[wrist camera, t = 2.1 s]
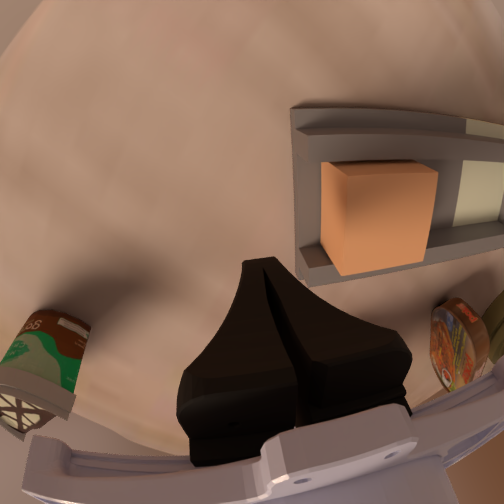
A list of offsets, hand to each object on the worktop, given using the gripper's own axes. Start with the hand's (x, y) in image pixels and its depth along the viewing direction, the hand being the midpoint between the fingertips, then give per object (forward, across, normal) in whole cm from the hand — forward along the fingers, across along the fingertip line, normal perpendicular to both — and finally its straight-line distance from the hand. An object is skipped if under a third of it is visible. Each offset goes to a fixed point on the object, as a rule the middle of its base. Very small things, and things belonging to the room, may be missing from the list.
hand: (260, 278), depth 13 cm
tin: (+9, -22, +18) cm, 30 cm away
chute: (+8, -14, 0) cm, 17 cm away
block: (+7, -8, 0) cm, 11 cm away
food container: (+9, +20, +9) cm, 24 cm away
